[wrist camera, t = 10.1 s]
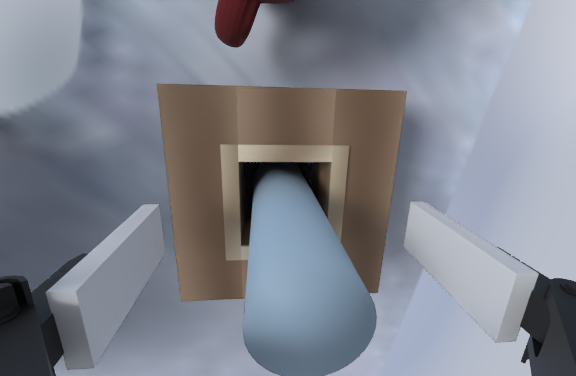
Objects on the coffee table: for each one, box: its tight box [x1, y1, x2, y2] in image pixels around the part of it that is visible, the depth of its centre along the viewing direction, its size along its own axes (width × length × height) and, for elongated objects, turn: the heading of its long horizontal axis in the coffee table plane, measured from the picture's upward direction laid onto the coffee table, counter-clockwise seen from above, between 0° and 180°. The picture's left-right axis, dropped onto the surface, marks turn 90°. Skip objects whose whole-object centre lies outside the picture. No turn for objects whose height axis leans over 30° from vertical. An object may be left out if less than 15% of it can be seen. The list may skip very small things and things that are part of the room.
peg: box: [243, 162, 377, 376], centre depth 16 cm, size 4×4×16 cm
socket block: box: [157, 84, 407, 301], centre depth 21 cm, size 14×14×6 cm
